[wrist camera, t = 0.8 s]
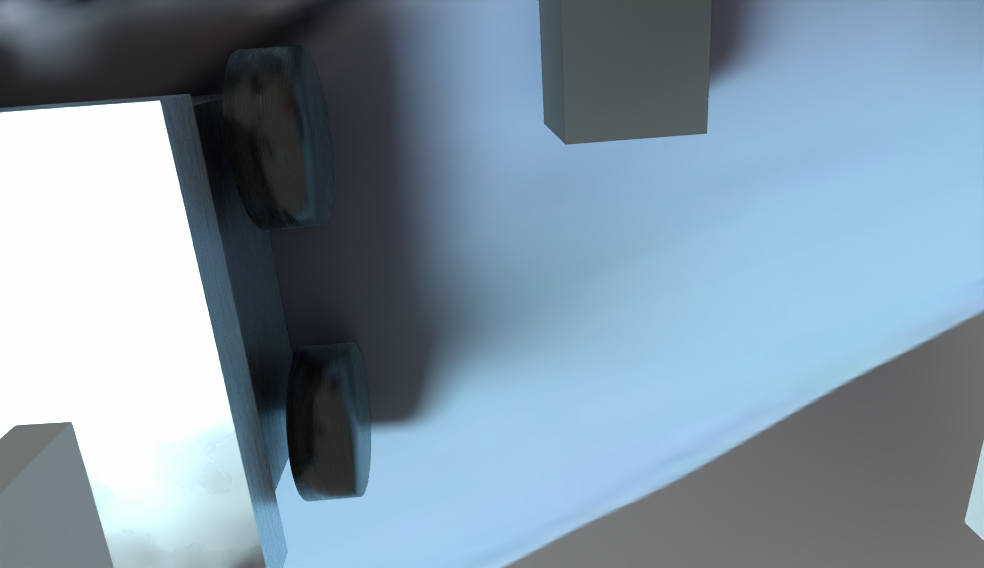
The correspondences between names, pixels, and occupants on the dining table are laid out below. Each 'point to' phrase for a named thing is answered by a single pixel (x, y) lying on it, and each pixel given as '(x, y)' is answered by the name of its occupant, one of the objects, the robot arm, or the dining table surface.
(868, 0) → the dining table surface
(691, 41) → the grey rectangular block
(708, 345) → the dining table surface
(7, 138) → the trolley
